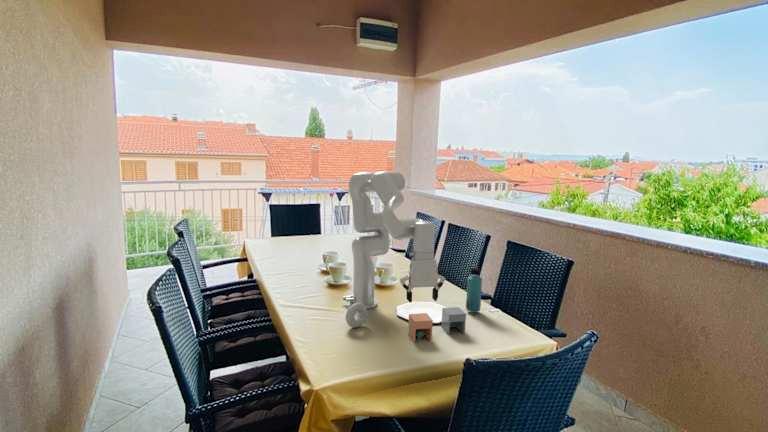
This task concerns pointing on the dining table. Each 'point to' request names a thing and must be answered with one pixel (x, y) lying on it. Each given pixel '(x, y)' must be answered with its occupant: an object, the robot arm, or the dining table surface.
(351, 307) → the donut
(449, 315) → the open-front grey box
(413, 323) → the pink open box
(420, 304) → the plate
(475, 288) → the beverage bottle
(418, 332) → the marble
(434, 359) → the dining table surface
